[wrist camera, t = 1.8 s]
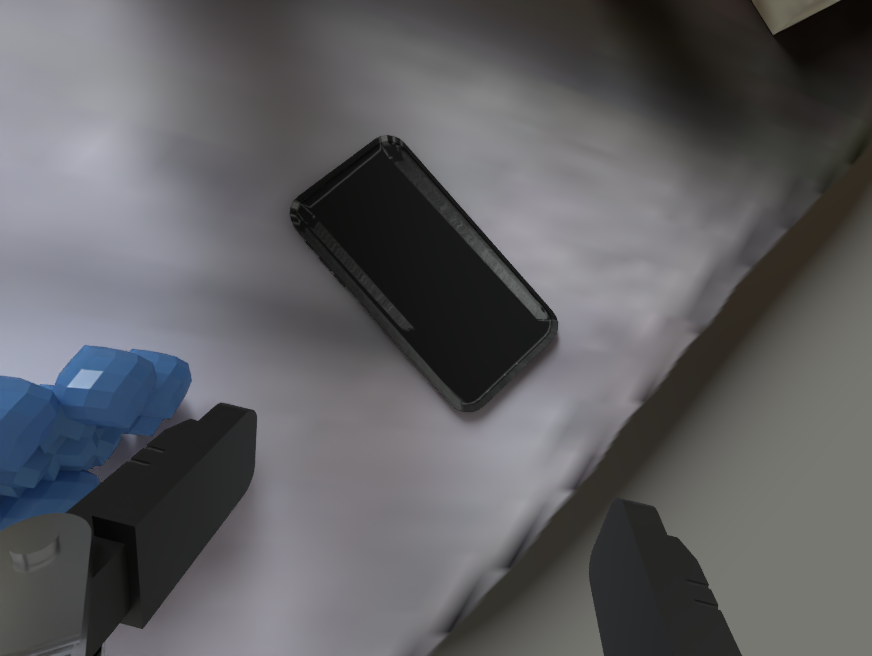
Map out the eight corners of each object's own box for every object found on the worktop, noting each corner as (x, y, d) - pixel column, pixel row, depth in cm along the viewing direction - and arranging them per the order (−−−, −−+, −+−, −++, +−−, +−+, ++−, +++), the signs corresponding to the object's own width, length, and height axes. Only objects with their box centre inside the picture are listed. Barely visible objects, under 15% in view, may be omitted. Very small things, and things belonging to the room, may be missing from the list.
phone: (390, 127, 27) (566, 326, 27) (389, 137, 28) (558, 329, 28) (278, 210, 25) (466, 422, 25) (282, 218, 26) (461, 421, 26)
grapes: (17, 578, 22) (-383, 799, 10) (-51, 449, 22) (-519, 515, 10) (254, 444, 24) (156, 495, 12) (191, 328, 24) (34, 270, 13)
